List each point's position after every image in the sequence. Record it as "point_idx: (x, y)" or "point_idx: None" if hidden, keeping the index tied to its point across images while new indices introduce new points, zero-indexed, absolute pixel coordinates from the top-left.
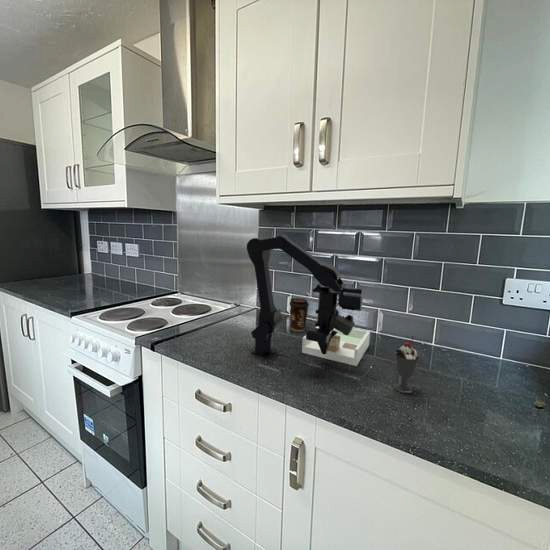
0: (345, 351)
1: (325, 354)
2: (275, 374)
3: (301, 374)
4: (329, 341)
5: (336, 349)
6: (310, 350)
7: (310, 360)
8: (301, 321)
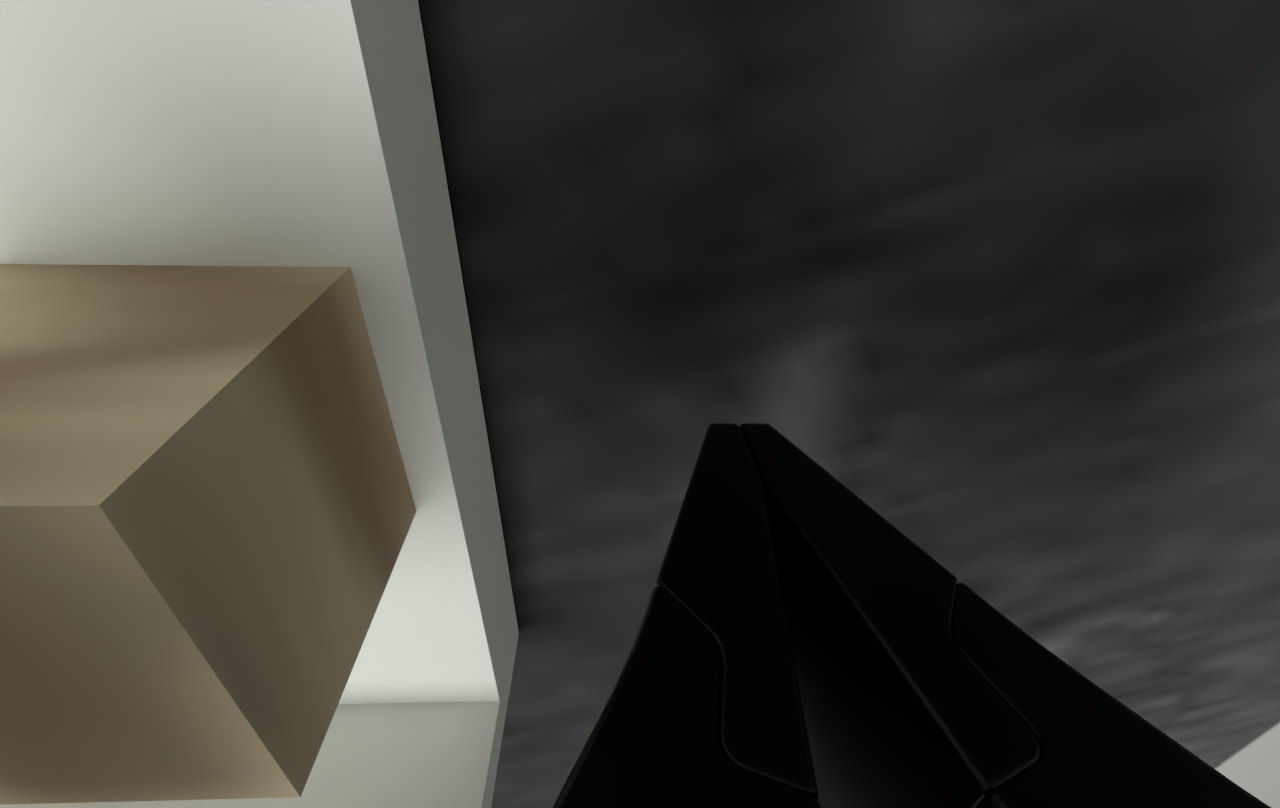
0: (17, 40)
1: (462, 417)
2: (1139, 634)
3: (1111, 467)
4: (794, 693)
5: (265, 295)
6: (496, 611)
7: (670, 507)
8: None
